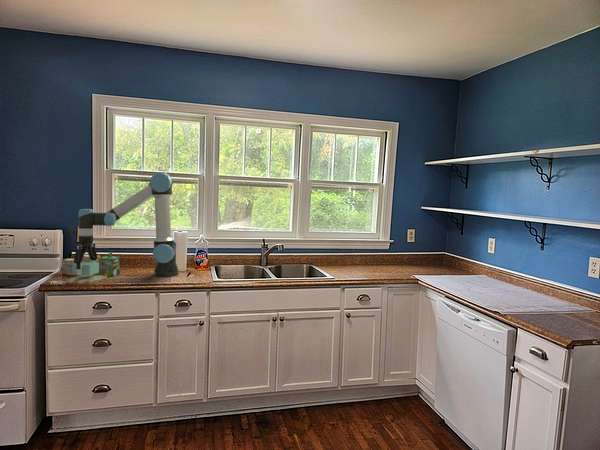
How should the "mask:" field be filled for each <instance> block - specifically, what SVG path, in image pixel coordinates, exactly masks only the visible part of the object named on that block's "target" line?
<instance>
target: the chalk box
mask: <svg viewBox="0 0 600 450" xmlns="http://www.w3.org/2000/svg"><path fill="white" fill-rule="evenodd" d="M113 253H114V252H113V251H110V252H108V255H106V256H105V255H104V256H102V257H100V258H99V275H101V276H107V278H114V277H116V276H119V275H120V268H121V267H120V258H121V257H120V256H113Z"/></svg>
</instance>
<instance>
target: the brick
mask: <svg viewBox="0 0 600 450" xmlns="http://www.w3.org/2000/svg"><path fill="white" fill-rule="evenodd" d="M81 263H82V275H87V276H90V275H93V274H96V273H99V263H98V262H81ZM72 276H78V275H77V264H73V275H72Z"/></svg>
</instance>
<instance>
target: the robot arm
mask: <svg viewBox="0 0 600 450" xmlns="http://www.w3.org/2000/svg"><path fill="white" fill-rule="evenodd" d="M173 185H174V180H173V179H172V176H171V175H169V174H168V173H167V172H164V171H163V172H162V171H159V172H155V173H154V174H153V175H152V176H151V177H150V180H149V182H148V184H147V186H145V187H144V188H142V189H140V190H139V191H138V192H136V193H134V194H133V195H131V196H130V197H128V198H126V199H125V200H124V201H121V203H119V204H117V205H116V206H114V207H113V208H111V209H110V210H108V211H106V212H94V210H93V209H92V208H80V209H79V210H78V216H77V217H78V235H79V236H78V242H79V245H75V253H74V257H73V259H74V263H76V264H77V275H76V276H79V275H82V263H81V262H82V259H83V256H84V255H86V253H87V255H89V257H90V259H91V260H90V262H95V260H97V258H98V257H97V255H98V253H97V248H96V243H93V242H94V236H93V235H94V226H101V227H102V226H107V227H109V226H115V225H116V223H117V221H119V220H120V219H121V218H123V217H124V216H126V215H128V214H129V213H131V212H133V211H134V210H135V209H137V208H139V207H141V206H142V205H143V204H145V203H146V202H148V201H149V200H151V199H152V198H154V217H155V218H154V220H155V221H154V222H155V238H154V239H153V251H152V256H153V258H154V260H155V261H156V265H155V268H154V270H153V275H154V276H155V277H161V278H163V277H166V278H169V277H176V276H178V275H179V274H180V272H179V267H178V263H177V241H176V239H174V238H173V237H172V229H171V227H172V226H171V203H170V201H171V200H170V199H171V197H172V196H173Z"/></svg>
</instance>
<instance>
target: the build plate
mask: <svg viewBox="0 0 600 450" xmlns="http://www.w3.org/2000/svg"><path fill="white" fill-rule="evenodd" d="M106 279H108V277H107V276H101V275H90V276H87V275H75V276H73V277H69V278H66V279H64V280H63V281H64V282H68V283H69V284H83V285H85V284H87V285H91V284H95V283H97V282H100V281H103V280H106ZM68 283H67V284H68Z"/></svg>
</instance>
